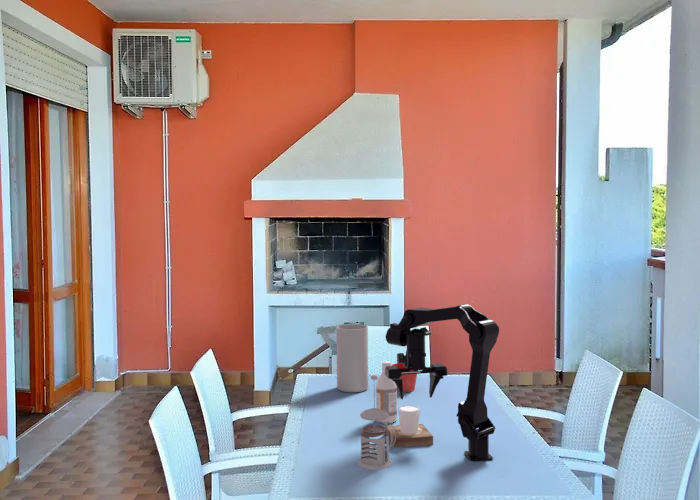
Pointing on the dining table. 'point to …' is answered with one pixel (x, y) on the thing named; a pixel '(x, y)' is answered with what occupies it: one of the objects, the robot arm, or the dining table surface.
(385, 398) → the bath foam
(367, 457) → the french press
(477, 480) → the dining table surface
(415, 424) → the white cup
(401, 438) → the walnut plinth
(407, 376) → the flower pot
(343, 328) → the cylinder vase
